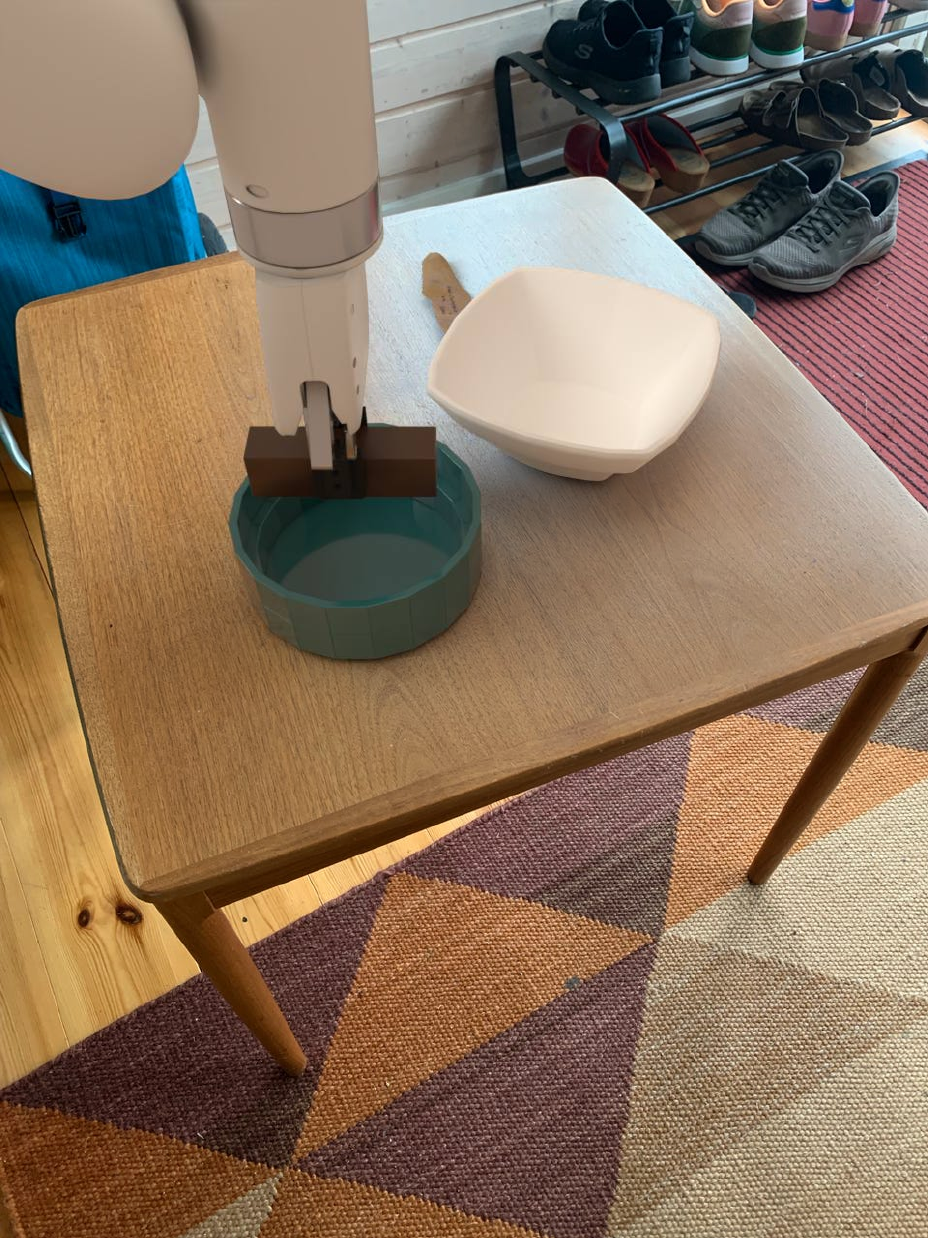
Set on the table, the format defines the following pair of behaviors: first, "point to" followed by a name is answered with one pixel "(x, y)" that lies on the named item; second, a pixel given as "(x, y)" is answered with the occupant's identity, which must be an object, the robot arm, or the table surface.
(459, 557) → the mixing bowl
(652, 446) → the bowl
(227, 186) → the robot arm
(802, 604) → the table surface
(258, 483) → the brown wooden block
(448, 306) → the stone tool
